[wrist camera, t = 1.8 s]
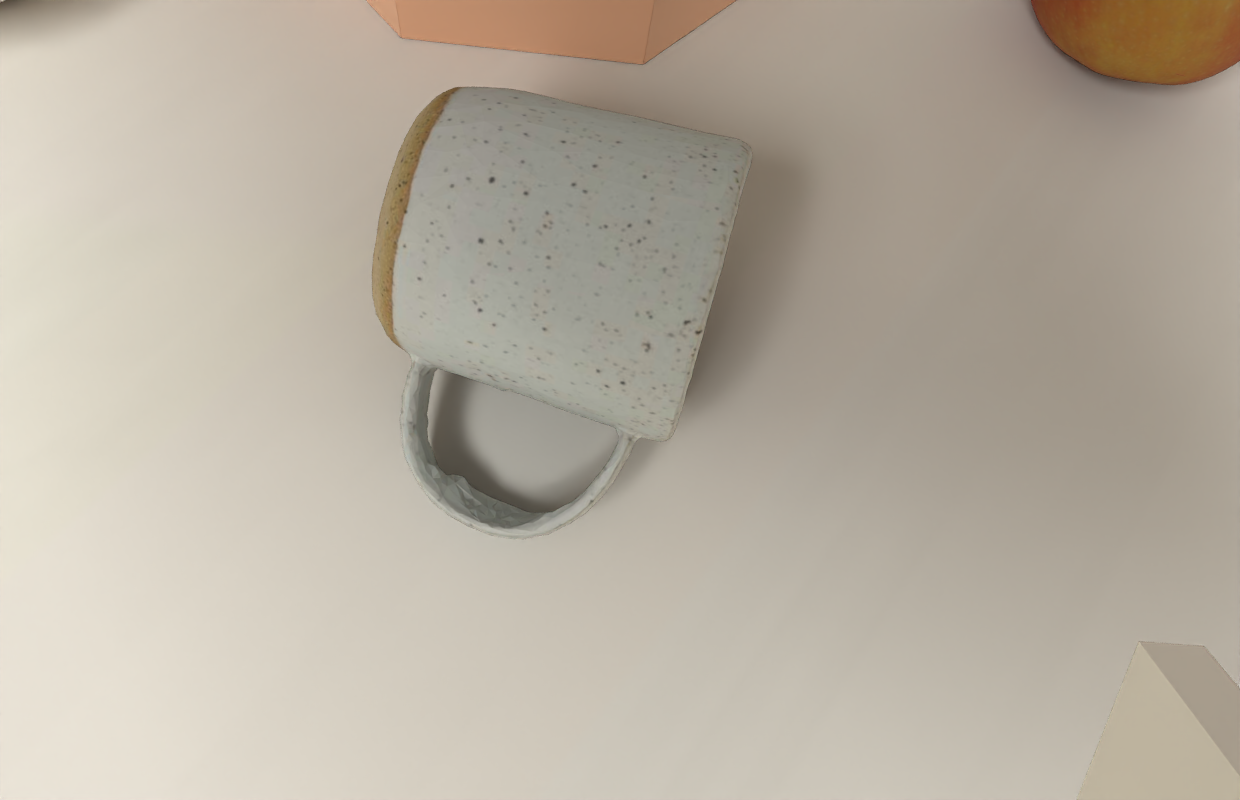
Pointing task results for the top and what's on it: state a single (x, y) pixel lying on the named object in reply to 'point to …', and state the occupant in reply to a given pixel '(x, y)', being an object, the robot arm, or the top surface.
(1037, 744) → the top surface
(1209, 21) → the apple
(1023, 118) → the top surface
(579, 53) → the terracotta bowl
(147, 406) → the top surface
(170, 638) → the top surface
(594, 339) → the ceramic mug
